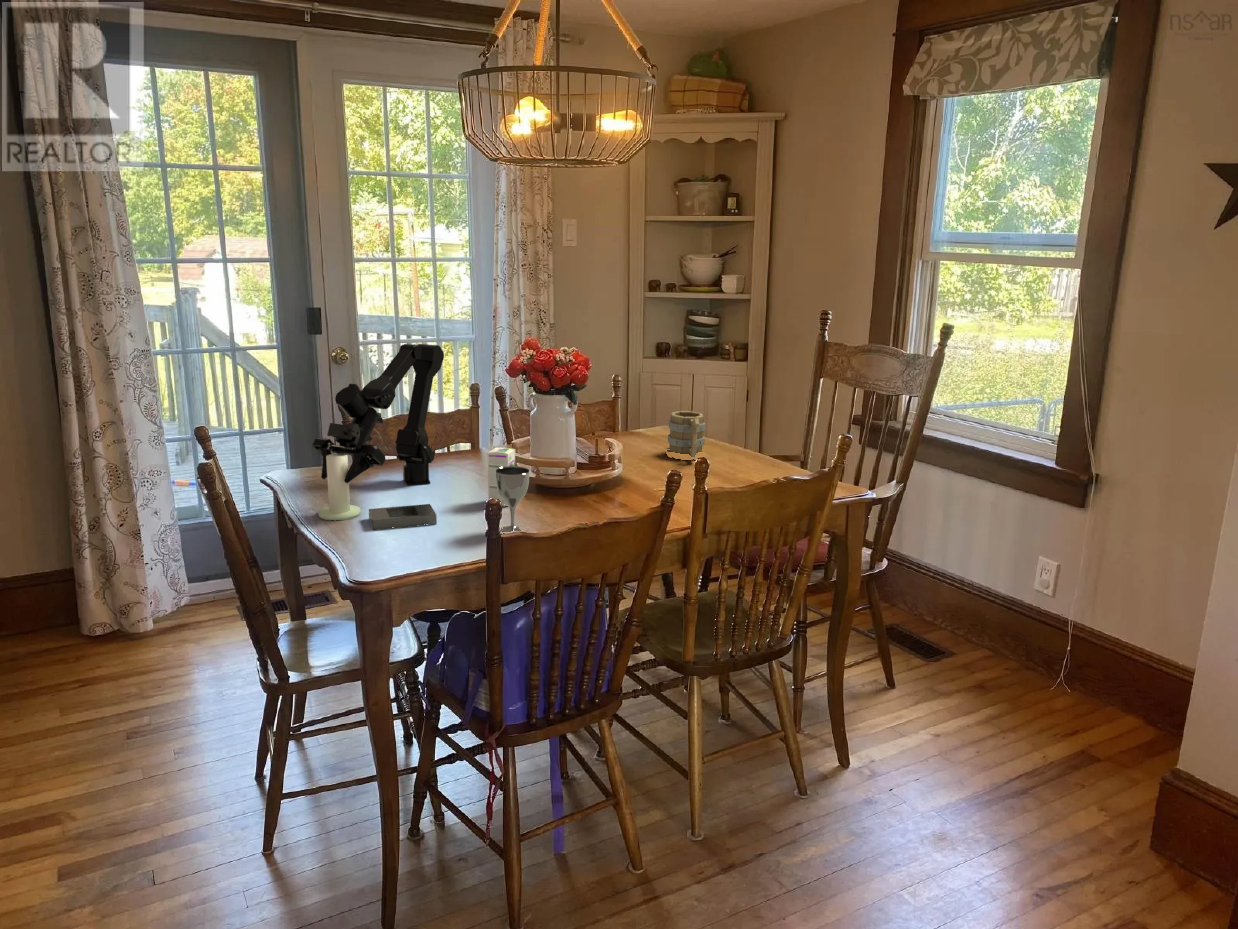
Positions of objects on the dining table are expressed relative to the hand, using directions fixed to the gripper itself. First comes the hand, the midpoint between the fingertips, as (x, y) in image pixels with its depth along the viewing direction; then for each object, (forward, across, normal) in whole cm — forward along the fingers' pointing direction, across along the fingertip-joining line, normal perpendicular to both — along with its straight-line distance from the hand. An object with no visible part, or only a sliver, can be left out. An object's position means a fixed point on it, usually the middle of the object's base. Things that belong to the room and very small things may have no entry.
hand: (334, 480), depth 218 cm
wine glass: (-1, +44, +14) cm, 46 cm away
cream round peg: (+5, 0, +7) cm, 8 cm away
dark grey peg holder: (+4, +17, +9) cm, 20 cm away
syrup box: (-13, +31, +27) cm, 43 cm away
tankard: (-62, +60, +76) cm, 115 cm away
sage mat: (+6, 0, +7) cm, 9 cm away
